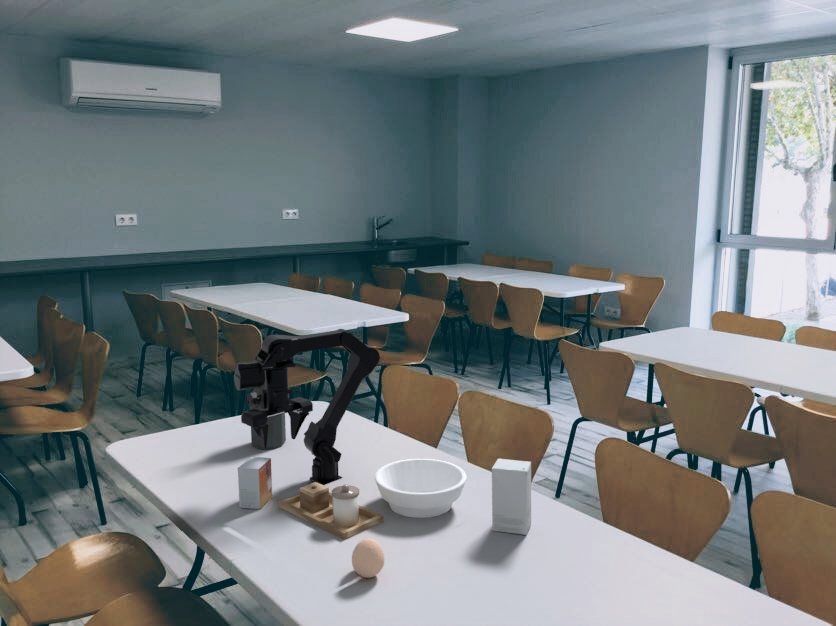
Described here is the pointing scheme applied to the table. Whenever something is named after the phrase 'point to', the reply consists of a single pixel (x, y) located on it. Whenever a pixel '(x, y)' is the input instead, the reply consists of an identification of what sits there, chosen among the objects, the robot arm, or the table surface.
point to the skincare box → (511, 496)
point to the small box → (255, 482)
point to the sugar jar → (345, 506)
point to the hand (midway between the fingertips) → (279, 443)
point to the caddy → (331, 517)
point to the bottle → (270, 428)
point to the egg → (368, 558)
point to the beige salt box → (314, 497)
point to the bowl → (420, 486)
